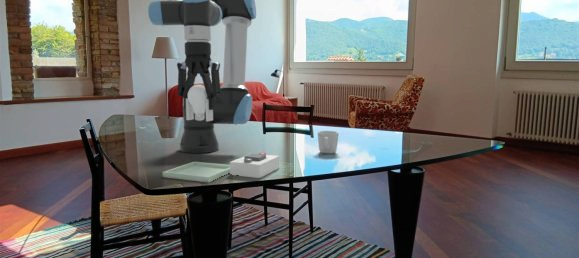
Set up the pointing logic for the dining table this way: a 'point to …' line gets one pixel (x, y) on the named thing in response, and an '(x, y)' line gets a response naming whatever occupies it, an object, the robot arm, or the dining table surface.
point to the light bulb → (198, 101)
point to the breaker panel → (254, 166)
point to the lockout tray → (198, 171)
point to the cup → (328, 141)
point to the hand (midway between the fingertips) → (199, 120)
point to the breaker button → (255, 157)
